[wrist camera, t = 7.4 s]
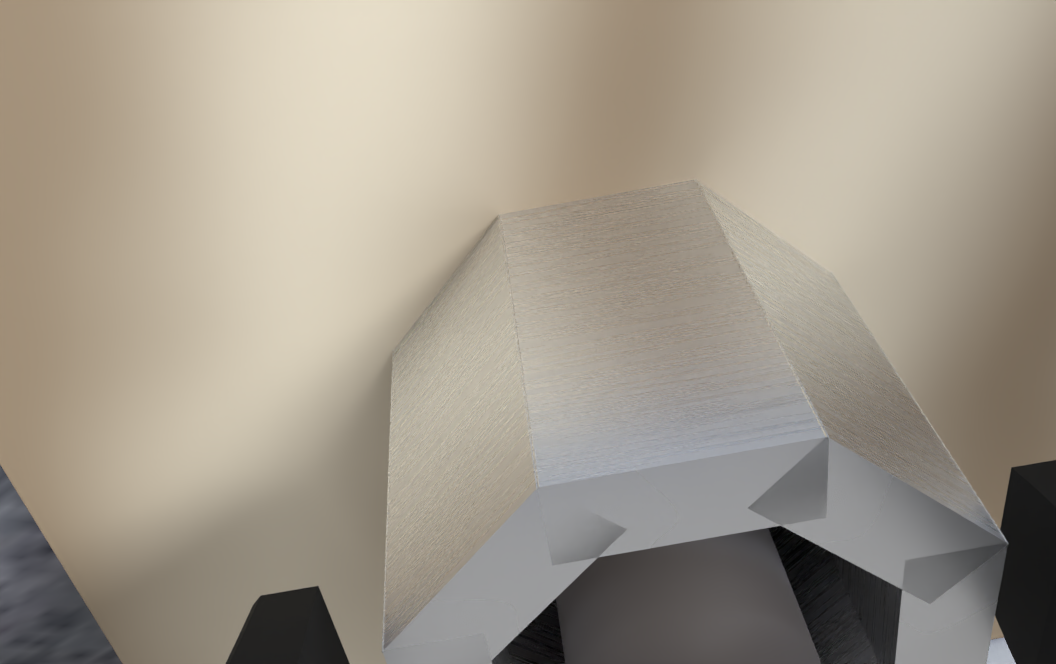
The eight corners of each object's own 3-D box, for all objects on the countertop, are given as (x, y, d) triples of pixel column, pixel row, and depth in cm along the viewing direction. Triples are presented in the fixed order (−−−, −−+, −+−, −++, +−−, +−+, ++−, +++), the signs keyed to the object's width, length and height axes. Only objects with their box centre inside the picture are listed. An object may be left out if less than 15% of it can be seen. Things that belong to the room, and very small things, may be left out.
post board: (1303, -284, 10) (2030, -218, 6) (1085, 562, 18) (1322, 890, 13) (-207, -14, 11) (-706, 263, 6) (203, 712, 18) (127, 1089, 13)
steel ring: (836, 153, 11) (1035, 399, 8) (826, 497, 15) (963, 787, 11) (360, 239, 11) (332, 523, 8) (453, 562, 15) (464, 872, 11)
